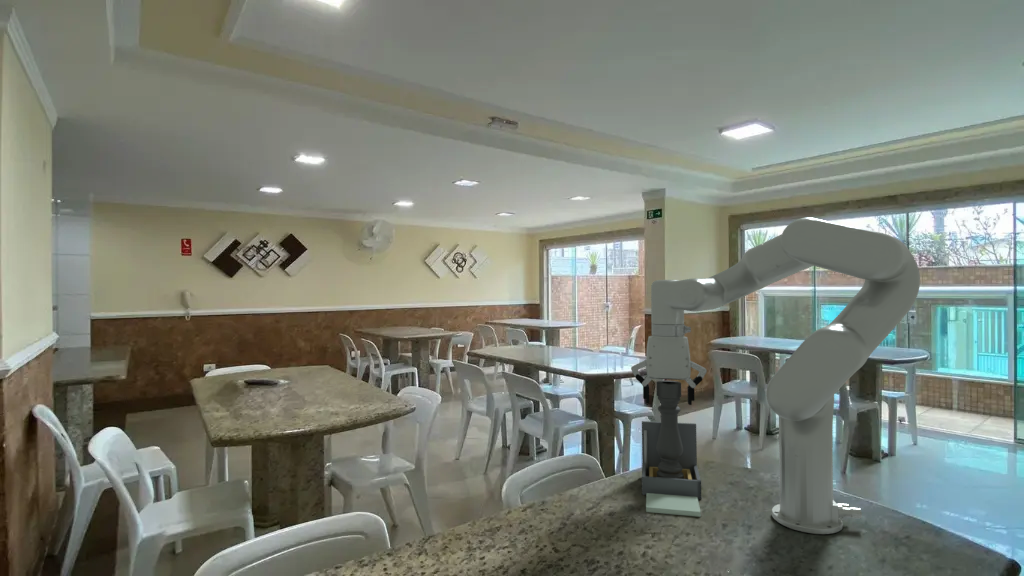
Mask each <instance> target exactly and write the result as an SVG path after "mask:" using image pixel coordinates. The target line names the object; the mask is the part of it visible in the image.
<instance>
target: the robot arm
mask: <svg viewBox="0 0 1024 576" xmlns="http://www.w3.org/2000/svg"><path fill="white" fill-rule="evenodd" d="M811 267H816V268H820V269H823V270H827V271H830V272H835V273H839V274H843V275H846V276H850V277H854V278H857V279H861V280H864V282H863V285H862V287H861V288H860V289H859V291H857V293H856V294H854V296H853V297H852V298H851V299H850V300H849V302H848V303H847V304H846V306H845V307H844V308H843V309H842V311H840V313H838V314H837V316H836V317H834V319H833V320H832V321H831V322H830V323H828V324H827V325H826V326H823V327H820V328H818V329H817V330H815V331H813V332H812V333H811V334H810V335H808V336H807V338H805V340H804V341H802V342H801V344H800V345H799V346H798V347H797V348H796V350H794V352H793V353H792V354H791V355H790V357H788V359H787V360H786V361H785V362H784V363H783V364H782V366H781V367H780V368H779V369H778V370H777V371H776V373H774V374H773V376H772V378H771V379H770V380H769V382H768V384H767V386H766V390H765V391H766V392H765V393H766V395H765V396H766V400H767V403H768V406H769V407H770V409H771V411H772V412H774V413H775V414H776V415H777V416H778V417H779V421H778V422H779V424H778V426H779V427H778V459H779V460H778V461H779V462H778V464H779V465H778V467H779V468H778V469H779V503H778V504H775V505H774V506H773V507H772V508H771V517H772V518H773V519H774V520H775V521H776V522H777V523H778V524H781V525H782V526H784V527H787V528H788V529H791V530H795V531H799V532H802V533H806V534H807V533H808V534H814V535H830V534H835V533H839V532H840V531H842V529H843V528H844V522H843V519H844V518H851V519H862V517H863V513H862V510H861V508H860V507H859V508H858V507H850V505H849V503H837V502H836V501H835V499H834V468H833V467H834V465H833V463H834V462H833V457H834V455H833V453H834V452H833V449H834V447H833V445H834V443H833V442H834V439H833V438H834V437H833V431H834V430H833V428H834V427H833V424H834V411H835V408H834V407H835V394H836V393H837V392H838V391H839V390H840V388H842V387H843V386H844V385H845V384H846V383H847V381H848V380H850V378H851V377H852V376H854V374H856V373H857V371H859V370H860V369H861V368H862V367H863V366H864V365H865V364H866V363H867V361H868V359H869V357H870V356H871V355H872V354H873V352H874V351H875V350H876V349H877V348H878V347H879V346H880V345H881V344H882V343H883V341H884V340H885V339H887V337H888V336H889V335H890V334H891V332H892V331H893V330H894V329H895V328H896V327H897V325H898V324H900V322H901V321H902V320H903V318H905V317H906V315H907V314H908V312H909V311H910V310H911V309H912V307H913V305H914V304H915V302H916V300H917V298H918V294H919V291H920V285H921V272H920V269H919V267H918V263H917V261H916V259H915V257H914V255H913V254H912V252H911V251H910V249H909V247H907V245H906V244H905V243H904V242H903V241H901V240H900V239H898V238H897V237H894V236H892V235H889V234H886V233H883V232H880V231H876V230H875V231H874V230H869V229H864V228H859V227H855V226H850V225H847V224H846V225H844V224H839V223H835V222H831V221H827V220H823V219H820V218H815V217H802V218H798V219H795V220H793V221H792V222H790V223H789V224H788V225H786V227H785V228H784V229H783V231H782V233H781V234H779V235H776V236H774V237H773V238H770V239H768V240H767V241H765V242H763V243H760V244H758V245H756V246H754V247H752V248H750V249H748V250H747V251H745V252H744V253H743V256H742V257H741V259H740V260H739V261H738V262H737V263H736V264H734V265H732V266H731V267H728V268H727V269H725V270H722V271H720V272H718V273H716V274H713V275H712V276H709V277H707V278H706V277H704V278H703V277H699V278H697V277H695V278H693V277H692V278H687V279H680V280H679V279H657V280H653V281H652V283H651V285H650V289H651V290H650V293H651V294H650V298H651V299H650V300H651V303H650V304H651V305H650V307H651V309H650V310H651V315H650V316H651V335H650V336H649V335H648V338H647V344H646V359H645V360H642V361H640V362H638V363H636V364H634V365H632V366H631V367H630V371H631V372H632V374H633V375H634V377H635V380H637V381H638V382H639V383H640V384H641V386H642V397H643V398H642V399H643V400H644V399H645V401H646V402H645V403H646V404H650V385H649V383H650V382H651V381H652V380H653V379H654V380H670V381H677V380H679V381H681V380H682V381H685V382H686V383H687V385H688V386H687V388H686V389H687V404H688V405H689V406H692V404H693V403H692V402H695V388H696V387H697V386H698V385H699V384H700V383H701V382H702V381H703V379H704V377H705V375H706V374H707V372H708V371H707V369H706V368H705V367H703V366H702V365H699V364H697V363H695V362H694V361H692V360H691V352H690V345H689V340H688V339H689V338H688V336H685V335H686V334H688V333H691V331H692V328H691V326H687V325H686V324H685V311H687V312H701V311H710V310H712V311H713V310H716V309H718V308H721V307H723V306H726V305H727V304H728V305H729V304H731V303H732V302H735V301H738V300H740V299H742V298H744V297H745V296H746V297H747V296H749V295H750V294H752V293H755V292H757V291H759V290H762V289H764V288H765V287H767V286H770V285H772V284H774V283H776V282H779V281H781V280H783V279H785V278H788V277H790V276H793V275H795V274H797V273H800V272H802V271H804V270H806V269H809V268H811ZM643 368H645V370H646V371H645V372H646V375H645V377H643V376H642V375H641V373H640V372H639V370H640V369H643ZM691 368H692V369H693V370H695V371H697V372H698V374H697V375H696V376H695V377H694V379H693V378H692V377H691V374H692V373H691V372H692V369H691Z"/></svg>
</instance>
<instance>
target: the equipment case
mask: <svg viewBox="0 0 1024 576" xmlns="http://www.w3.org/2000/svg"><path fill="white" fill-rule="evenodd" d="M660 428H661V421H653V420H651V421H649V420H647V421H646V420H642V421H641V455H642V456H641V457H642V458H641V459H642V462H641V463H642V465H641V495H645V496H646V493H653V494H665V495H678V496H690V497H697V498H698V500H702V479H701V476H700V475H701V474H700V472H699V468H698V463H697V461H698V460H697V459H698V458H697V457H698V456H697V455H698V454H697V453H698V452H697V451H698V450H697V449H698V448H697V443H698V442H697V423H695V422H694V423H691V422H690V423H689V422H678V429H679V433H680V438H681V441H682V445H683V453H682V455H681V456H680V457H679V459H680V460H679V461H678V462H679V463H680V465H681V466H682V471H681V472H682V473H683V474H684V479H677V478H663V477H657V471H658V470H659V469H658V465H659V464H660V462H661V461H662V460H661V459H660V457H661V456H660V455H659V454H658V451H657V447H656V445H657V441H658V437H659V432H660Z"/></svg>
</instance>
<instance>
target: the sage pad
mask: <svg viewBox="0 0 1024 576" xmlns="http://www.w3.org/2000/svg"><path fill="white" fill-rule="evenodd" d="M645 496H646V498H645V511H646V513H654V514H655V513H656V514H665V515H676V516H677V515H678V516H687V517H688V516H689V517H700V518H701V517H702V514H701V513H702V512H701V508H700V507H701V506H700V503H699V499H698V498H697V497H690V496H678V495H665V494H653V493H646V495H645Z"/></svg>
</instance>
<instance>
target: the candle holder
mask: <svg viewBox="0 0 1024 576" xmlns="http://www.w3.org/2000/svg"><path fill="white" fill-rule="evenodd" d="M655 384H656V397H657V399H658V401H659V404H660V405H659V406H657V410H658V412H660V413H659V414H660V422H661V428H660V432H659V437H658V441H657V445H656V447H657V451H658V454H659V455H660V456H661V457H660V459H661V460H662V461H661V462H660V464H659V465H658V469H659V470H658V471H657V477H663V478H677V479H684V474H683V473H682V472H681V471H682V466H681V465H680V463H679V462H678V461H679V460H680V459H679V457H680V456H681V455H682V453H683V445H682V441H681V438H680V433H679V429H678V423H679V421H678V420H679V419H678V417H679V416H678V415H679V413H680V412H681V407H679V406H678V405H679V402H680V401H681V398H682V383H681V382H680V381H677V380H657V381H656V383H655Z"/></svg>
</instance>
